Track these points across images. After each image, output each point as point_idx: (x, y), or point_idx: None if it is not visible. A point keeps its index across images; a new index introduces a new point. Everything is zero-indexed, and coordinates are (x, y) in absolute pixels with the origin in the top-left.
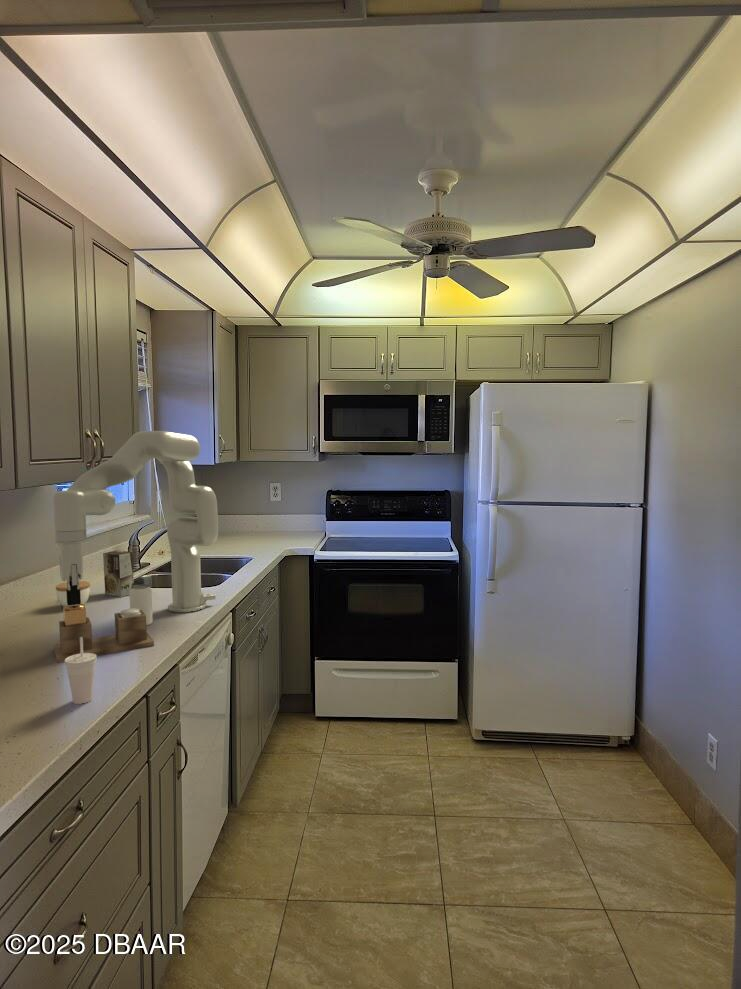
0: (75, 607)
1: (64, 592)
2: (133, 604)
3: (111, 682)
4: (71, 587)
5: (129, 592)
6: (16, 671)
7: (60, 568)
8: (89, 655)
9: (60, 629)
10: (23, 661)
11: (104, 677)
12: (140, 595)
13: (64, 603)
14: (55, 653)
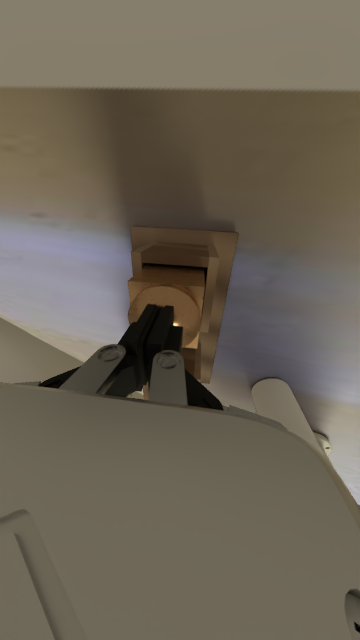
0: (134, 320)
1: None
2: (276, 417)
3: (4, 289)
4: (73, 373)
5: None
6: (112, 115)
7: (9, 636)
8: None
9: (169, 251)
10: (185, 141)
11: (27, 286)
12: None
13: None
14: (187, 229)
